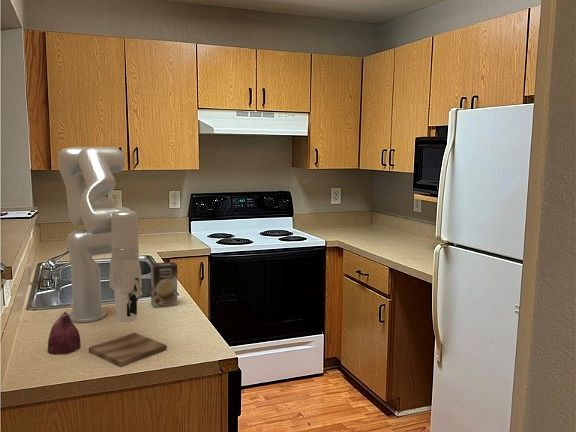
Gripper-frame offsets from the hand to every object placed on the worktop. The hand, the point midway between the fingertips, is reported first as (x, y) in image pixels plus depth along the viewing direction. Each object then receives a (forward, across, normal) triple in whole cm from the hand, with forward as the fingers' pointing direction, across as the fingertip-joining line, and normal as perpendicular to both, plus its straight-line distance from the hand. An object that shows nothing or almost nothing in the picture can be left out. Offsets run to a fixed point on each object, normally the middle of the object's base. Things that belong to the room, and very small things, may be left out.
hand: (127, 313), depth 153 cm
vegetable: (+12, -16, -11) cm, 23 cm away
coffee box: (+12, -28, +36) cm, 47 cm away
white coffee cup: (+2, 0, 0) cm, 2 cm away
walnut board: (+12, 0, 0) cm, 12 cm away
